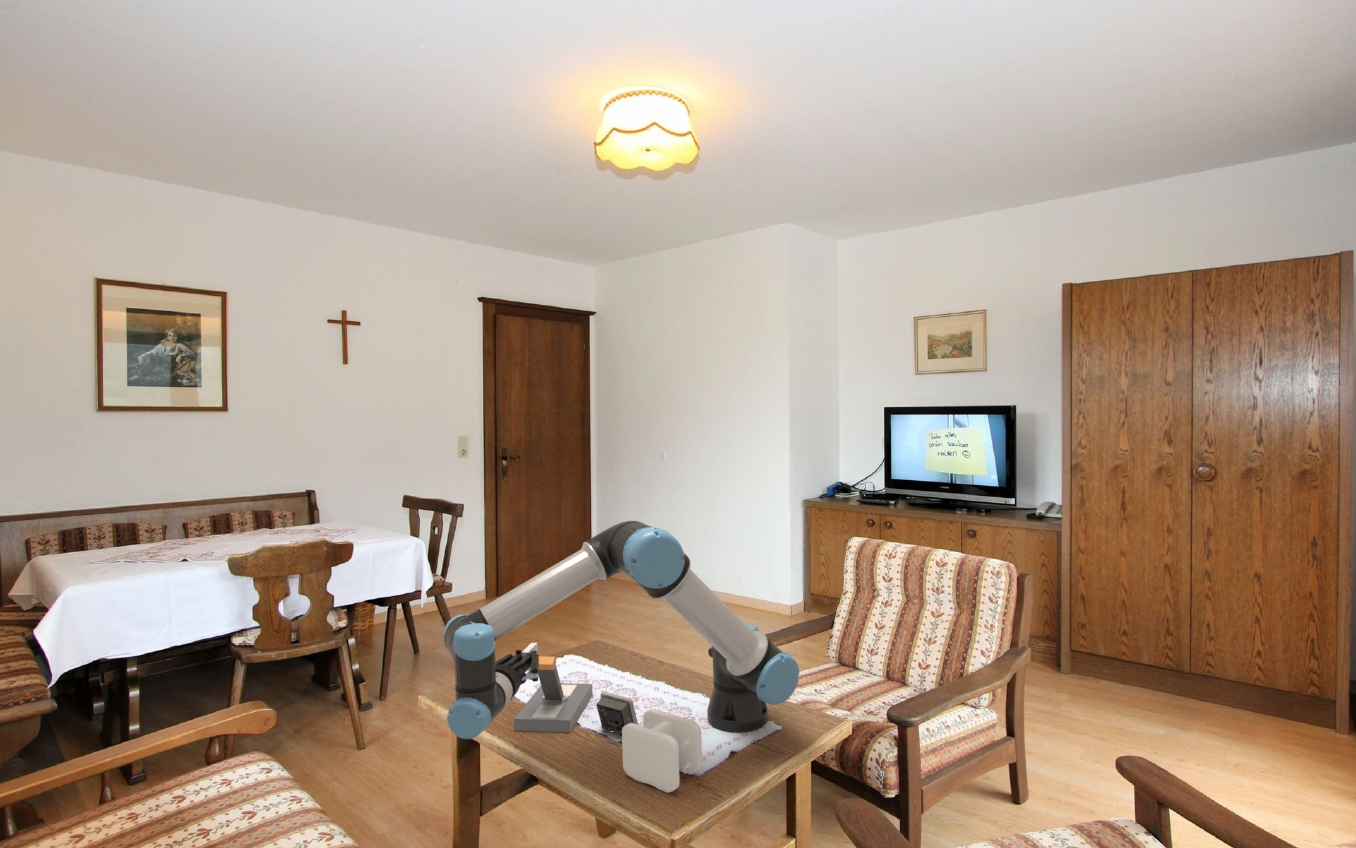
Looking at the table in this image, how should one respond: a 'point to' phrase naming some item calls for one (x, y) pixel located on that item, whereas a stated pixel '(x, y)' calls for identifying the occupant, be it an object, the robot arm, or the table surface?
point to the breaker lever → (549, 678)
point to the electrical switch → (615, 712)
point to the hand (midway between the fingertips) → (534, 648)
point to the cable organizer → (661, 749)
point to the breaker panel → (554, 710)
